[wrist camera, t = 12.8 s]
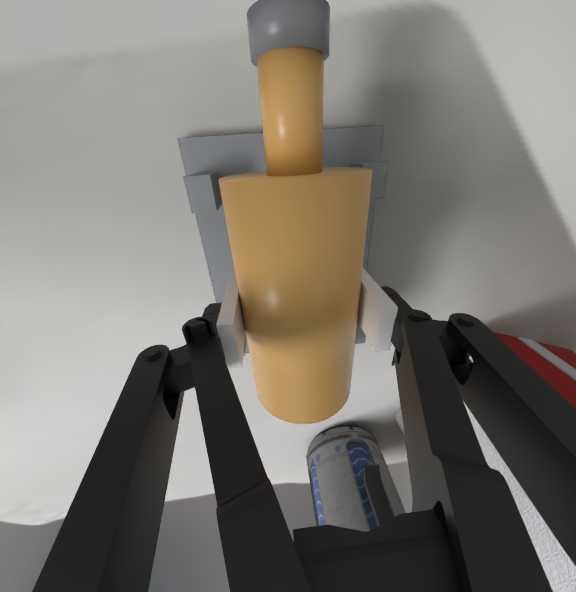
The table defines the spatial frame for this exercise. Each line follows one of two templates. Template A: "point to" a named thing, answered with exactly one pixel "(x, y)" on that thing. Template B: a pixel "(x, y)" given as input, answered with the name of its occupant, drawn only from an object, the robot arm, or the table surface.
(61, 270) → the table surface
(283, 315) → the amber bottle
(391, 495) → the smoke grenade
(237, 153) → the u rest
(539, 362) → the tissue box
